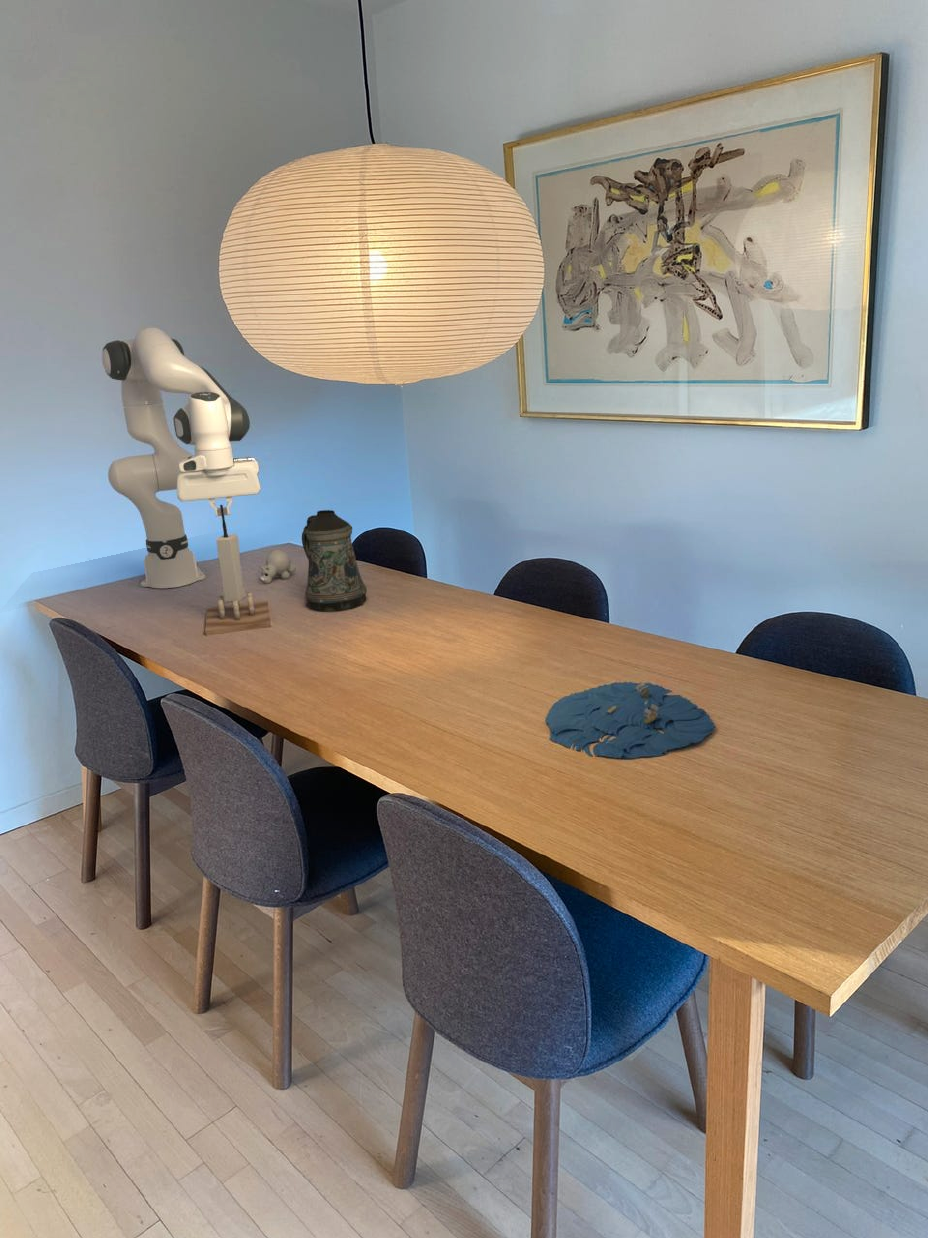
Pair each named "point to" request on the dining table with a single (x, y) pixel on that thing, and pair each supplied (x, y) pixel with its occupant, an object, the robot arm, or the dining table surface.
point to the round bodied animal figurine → (277, 566)
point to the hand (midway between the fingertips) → (222, 515)
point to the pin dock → (237, 616)
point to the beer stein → (331, 564)
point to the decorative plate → (627, 720)
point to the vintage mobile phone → (230, 565)
